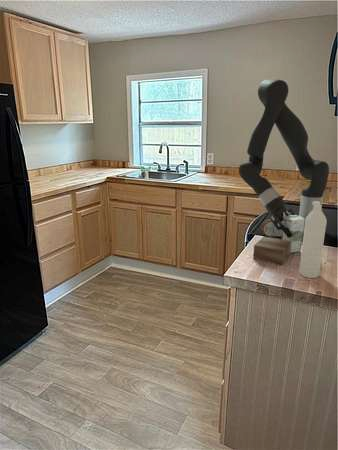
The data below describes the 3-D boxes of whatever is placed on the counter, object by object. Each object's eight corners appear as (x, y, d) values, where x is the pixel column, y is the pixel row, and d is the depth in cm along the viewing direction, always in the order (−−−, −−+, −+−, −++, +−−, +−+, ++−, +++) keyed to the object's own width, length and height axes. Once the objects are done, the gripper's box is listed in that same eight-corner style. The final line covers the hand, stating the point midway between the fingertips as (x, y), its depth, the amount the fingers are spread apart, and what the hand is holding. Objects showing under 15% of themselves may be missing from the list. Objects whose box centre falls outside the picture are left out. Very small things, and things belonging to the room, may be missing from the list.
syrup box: (291, 246, 137) (295, 214, 132) (300, 252, 131) (305, 218, 126) (280, 248, 135) (283, 215, 130) (288, 254, 130) (292, 219, 125)
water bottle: (319, 279, 110) (330, 208, 102) (299, 277, 112) (308, 207, 103) (317, 268, 118) (326, 201, 109) (298, 266, 119) (305, 200, 111)
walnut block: (262, 249, 135) (263, 236, 133) (289, 255, 129) (291, 241, 127) (253, 259, 126) (254, 245, 124) (281, 266, 120) (283, 251, 118)
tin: (293, 235, 149) (295, 218, 147) (295, 238, 146) (297, 220, 144) (260, 235, 151) (261, 217, 148) (261, 237, 148) (262, 220, 145)
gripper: (269, 199, 127) (293, 234, 122) (287, 192, 136) (311, 225, 132) (256, 209, 132) (279, 243, 128) (274, 202, 141) (297, 234, 137)
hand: (295, 234), depth 130 cm, fingers closed on syrup box, 7 cm apart
